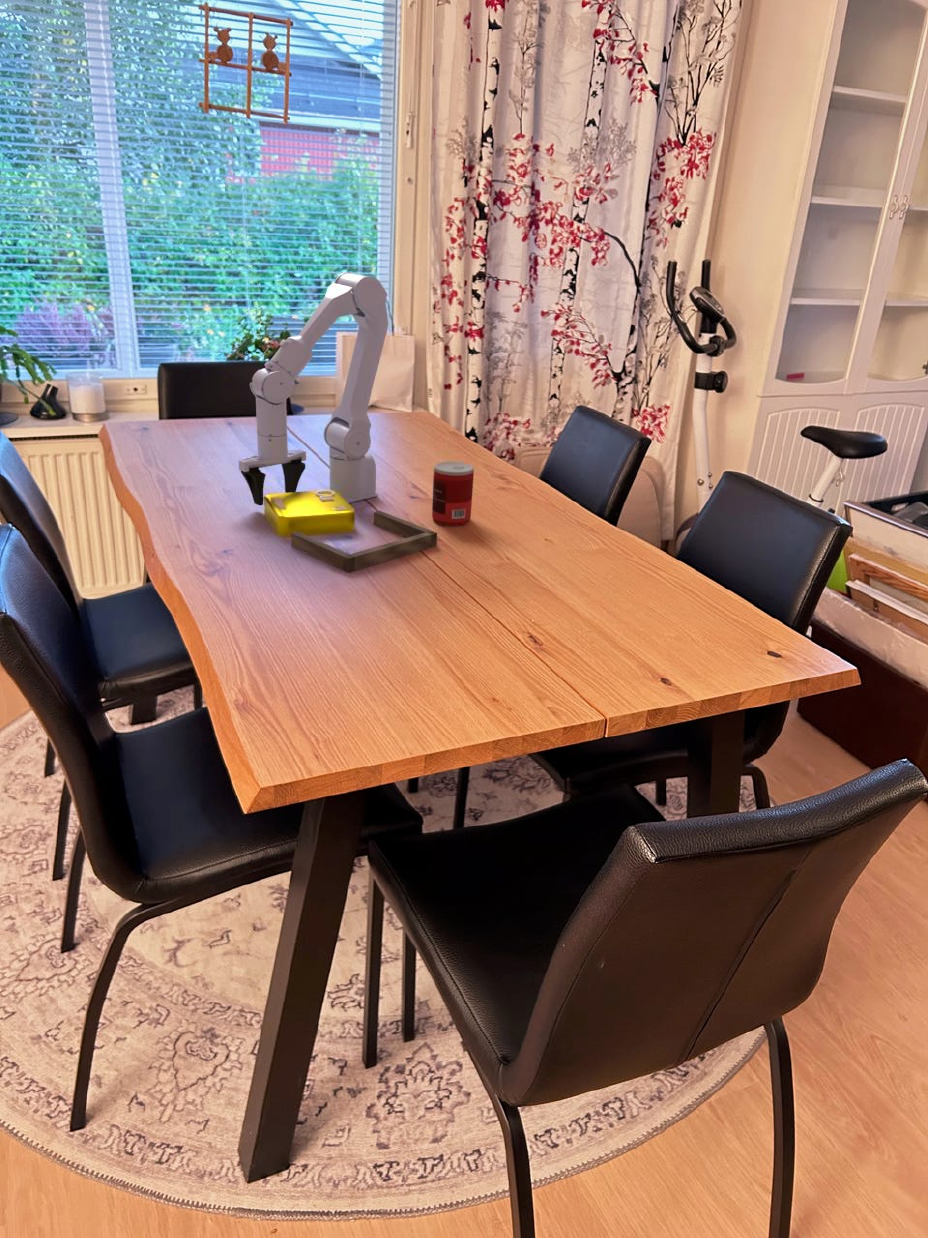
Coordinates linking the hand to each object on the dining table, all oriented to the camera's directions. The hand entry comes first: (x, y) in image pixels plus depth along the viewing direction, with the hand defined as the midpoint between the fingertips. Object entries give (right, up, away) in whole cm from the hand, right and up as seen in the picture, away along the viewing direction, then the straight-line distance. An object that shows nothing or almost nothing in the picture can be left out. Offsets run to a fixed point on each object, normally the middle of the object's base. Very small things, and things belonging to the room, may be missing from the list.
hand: (274, 500), depth 179 cm
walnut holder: (+20, -10, -16) cm, 27 cm away
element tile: (+8, -5, -6) cm, 11 cm away
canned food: (+35, -4, 0) cm, 36 cm away
